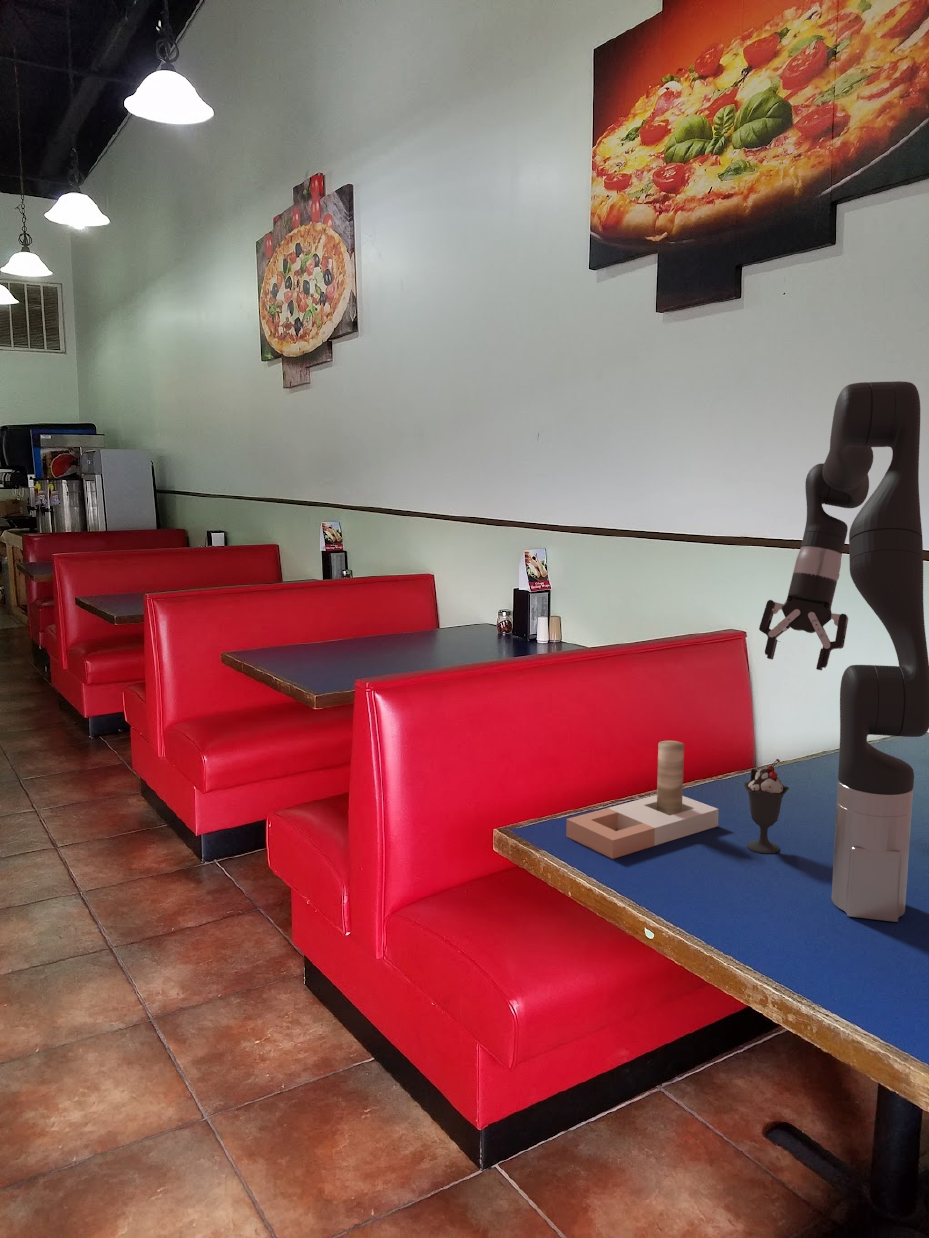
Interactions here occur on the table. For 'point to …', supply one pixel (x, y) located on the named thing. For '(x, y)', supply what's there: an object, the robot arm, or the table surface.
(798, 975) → the table surface
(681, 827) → the dock board
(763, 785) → the sundae
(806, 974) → the table surface
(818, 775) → the table surface
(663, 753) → the peg
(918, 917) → the table surface
